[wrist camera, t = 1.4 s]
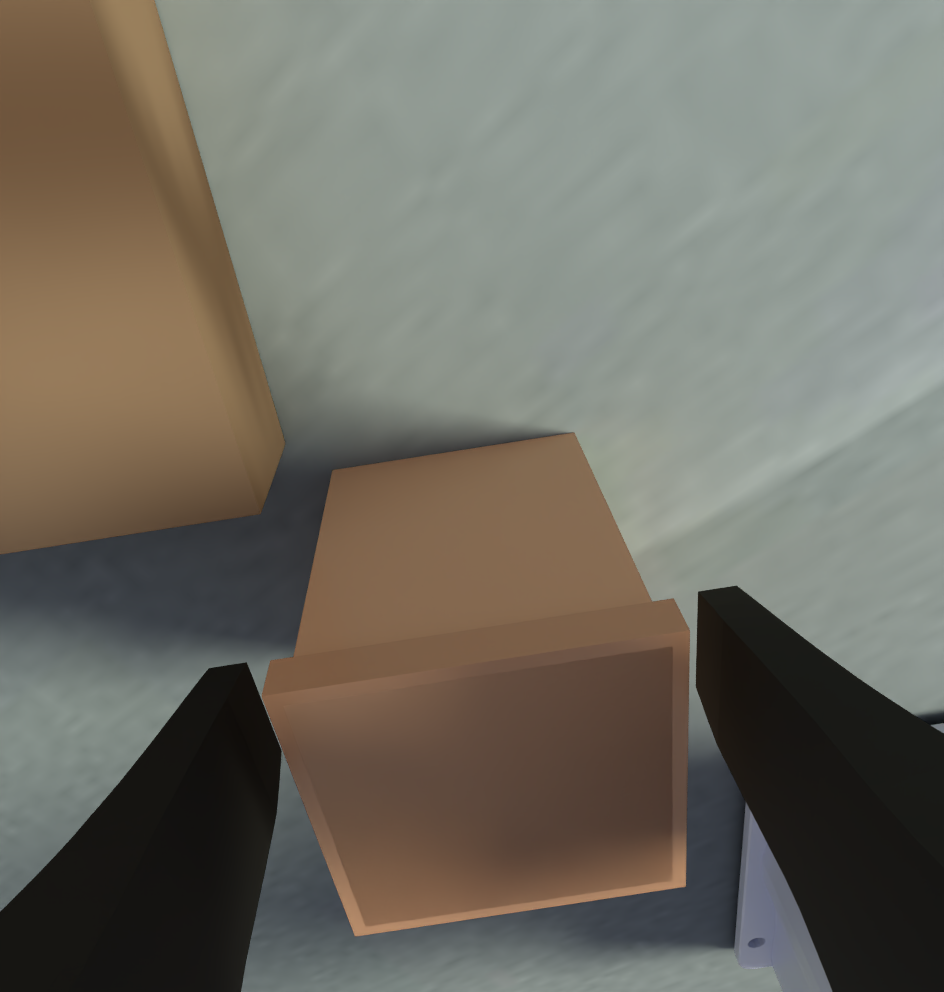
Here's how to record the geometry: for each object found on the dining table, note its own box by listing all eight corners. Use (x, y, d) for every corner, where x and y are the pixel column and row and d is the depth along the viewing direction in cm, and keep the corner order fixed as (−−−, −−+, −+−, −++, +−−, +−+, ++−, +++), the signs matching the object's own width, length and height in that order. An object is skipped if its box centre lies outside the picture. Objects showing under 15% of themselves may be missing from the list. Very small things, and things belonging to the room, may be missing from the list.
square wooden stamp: (597, 626, 16) (685, 886, 11) (373, 660, 16) (355, 936, 11) (583, 420, 14) (690, 630, 8) (319, 461, 14) (261, 695, 8)
